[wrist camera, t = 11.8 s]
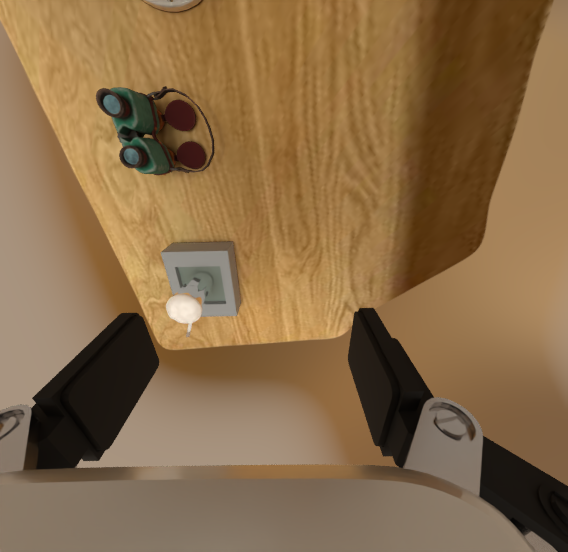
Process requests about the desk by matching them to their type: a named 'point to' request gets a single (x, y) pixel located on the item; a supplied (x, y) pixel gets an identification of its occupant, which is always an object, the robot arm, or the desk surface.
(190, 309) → the milkshake
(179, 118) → the binoculars
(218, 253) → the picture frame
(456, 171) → the desk surface
